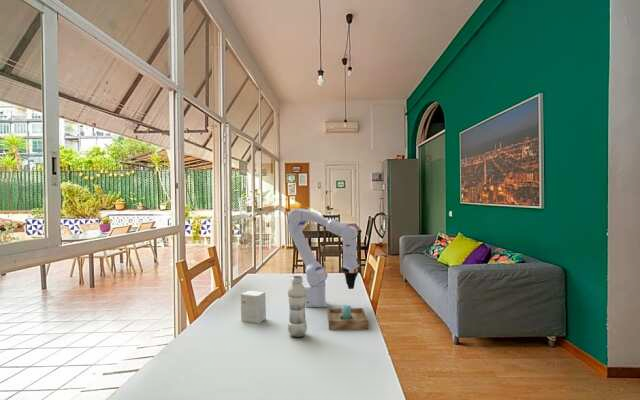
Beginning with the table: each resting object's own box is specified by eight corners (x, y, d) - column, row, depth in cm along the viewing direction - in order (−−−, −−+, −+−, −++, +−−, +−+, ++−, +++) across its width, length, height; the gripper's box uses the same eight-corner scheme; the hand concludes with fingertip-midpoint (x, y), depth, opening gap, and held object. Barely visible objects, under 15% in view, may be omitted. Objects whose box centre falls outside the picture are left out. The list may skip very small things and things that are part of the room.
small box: (266, 319, 135) (266, 292, 135) (257, 323, 130) (257, 295, 130) (249, 316, 138) (249, 290, 138) (240, 320, 133) (240, 293, 133)
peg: (342, 324, 129) (341, 308, 129) (341, 320, 132) (341, 305, 132) (351, 324, 129) (351, 308, 129) (350, 320, 132) (350, 305, 132)
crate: (328, 329, 123) (328, 320, 123) (327, 316, 137) (327, 308, 137) (367, 329, 124) (367, 320, 124) (362, 316, 138) (362, 308, 138)
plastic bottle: (292, 340, 114) (292, 280, 114) (285, 333, 120) (284, 276, 120) (310, 336, 117) (309, 277, 117) (302, 330, 123) (301, 274, 123)
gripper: (361, 257, 140) (361, 290, 140) (357, 252, 155) (357, 282, 155) (344, 257, 140) (344, 290, 140) (341, 252, 155) (341, 282, 155)
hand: (350, 286), depth 148 cm, fingers open, 7 cm apart
